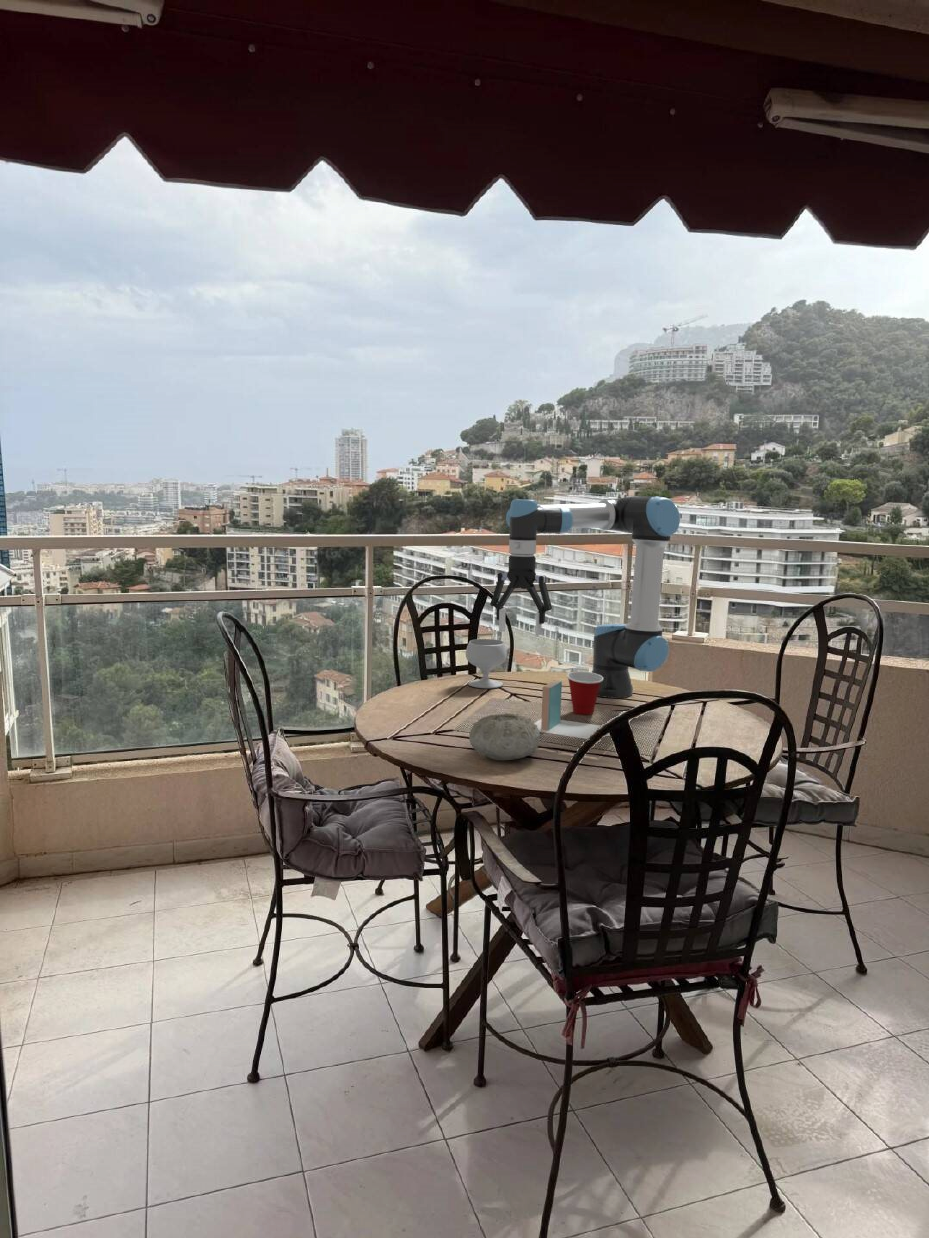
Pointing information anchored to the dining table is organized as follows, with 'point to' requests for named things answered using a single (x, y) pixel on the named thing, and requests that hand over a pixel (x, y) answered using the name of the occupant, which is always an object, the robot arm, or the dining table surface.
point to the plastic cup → (584, 691)
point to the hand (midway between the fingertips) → (519, 633)
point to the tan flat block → (551, 705)
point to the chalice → (486, 660)
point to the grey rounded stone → (505, 736)
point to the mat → (570, 729)
